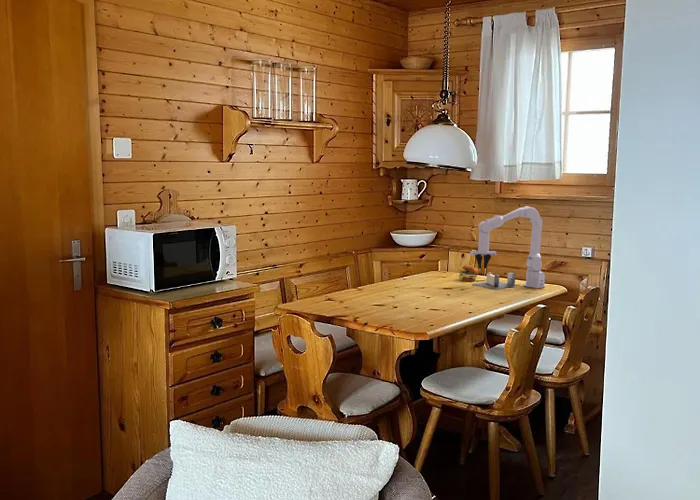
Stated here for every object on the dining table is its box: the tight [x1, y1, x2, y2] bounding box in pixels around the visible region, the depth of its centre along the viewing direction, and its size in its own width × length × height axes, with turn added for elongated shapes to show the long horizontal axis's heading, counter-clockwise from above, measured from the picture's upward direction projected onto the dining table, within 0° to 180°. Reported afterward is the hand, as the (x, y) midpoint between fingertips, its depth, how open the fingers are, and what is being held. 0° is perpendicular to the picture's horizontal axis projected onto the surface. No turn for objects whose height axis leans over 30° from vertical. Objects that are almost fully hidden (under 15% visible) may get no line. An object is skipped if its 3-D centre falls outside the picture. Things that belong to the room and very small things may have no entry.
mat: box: [472, 281, 518, 291], centre depth 382 cm, size 16×19×1 cm
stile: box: [506, 272, 516, 286], centre depth 382 cm, size 5×6×6 cm
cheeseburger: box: [458, 263, 480, 282], centre depth 396 cm, size 10×11×10 cm
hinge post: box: [494, 274, 500, 287], centre depth 375 cm, size 2×2×6 cm
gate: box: [485, 271, 496, 286], centre depth 381 cm, size 10×2×6 cm, turn 12°
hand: (482, 268), depth 381 cm, fingers open, 2 cm apart
